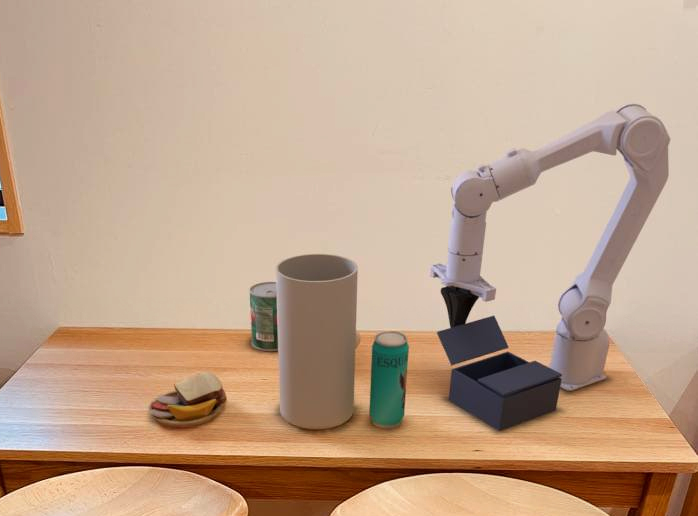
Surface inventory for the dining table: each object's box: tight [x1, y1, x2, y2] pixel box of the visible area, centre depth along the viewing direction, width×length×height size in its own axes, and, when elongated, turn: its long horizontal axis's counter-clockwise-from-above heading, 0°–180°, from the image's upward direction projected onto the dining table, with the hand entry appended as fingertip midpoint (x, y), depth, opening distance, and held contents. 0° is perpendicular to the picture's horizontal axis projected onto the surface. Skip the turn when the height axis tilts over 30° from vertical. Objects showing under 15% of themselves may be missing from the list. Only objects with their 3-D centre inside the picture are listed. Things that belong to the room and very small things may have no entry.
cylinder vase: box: [275, 253, 359, 430], centre depth 136 cm, size 12×12×25 cm
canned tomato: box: [248, 281, 278, 352], centre depth 164 cm, size 8×8×11 cm
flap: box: [436, 315, 509, 367], centre depth 146 cm, size 6×13×1 cm
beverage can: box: [369, 330, 410, 430], centre depth 136 cm, size 6×6×15 cm
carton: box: [447, 351, 562, 432], centre depth 143 cm, size 13×13×7 cm
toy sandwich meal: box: [147, 371, 227, 428], centre depth 144 cm, size 12×14×5 cm
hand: (457, 328), depth 148 cm, fingers closed
